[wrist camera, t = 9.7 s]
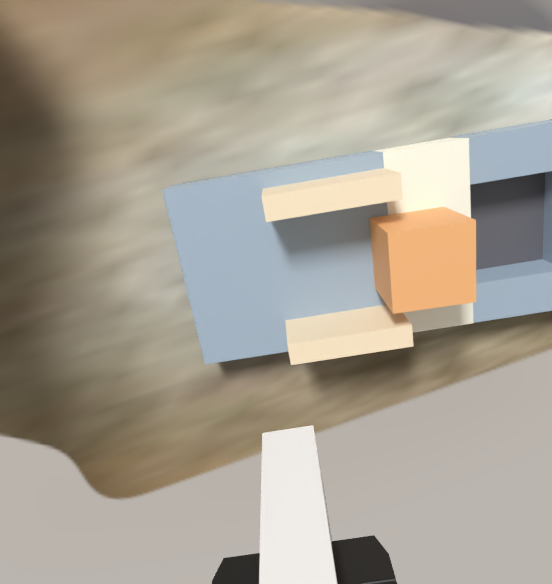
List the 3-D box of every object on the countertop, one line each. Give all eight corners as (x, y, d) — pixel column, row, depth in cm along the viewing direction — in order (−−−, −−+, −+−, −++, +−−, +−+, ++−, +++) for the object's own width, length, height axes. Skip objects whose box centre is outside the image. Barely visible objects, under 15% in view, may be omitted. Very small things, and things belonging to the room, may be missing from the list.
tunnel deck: (210, 346, 37) (196, 393, 30) (171, 185, 32) (146, 198, 26) (559, 291, 35) (625, 327, 29) (566, 116, 31) (646, 112, 25)
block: (374, 287, 32) (393, 313, 27) (369, 217, 30) (387, 233, 26) (445, 277, 32) (476, 302, 27) (443, 206, 30) (476, 219, 25)
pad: (388, 319, 36) (398, 334, 33) (372, 151, 32) (382, 152, 29) (457, 308, 36) (473, 323, 33) (451, 137, 32) (468, 137, 29)
